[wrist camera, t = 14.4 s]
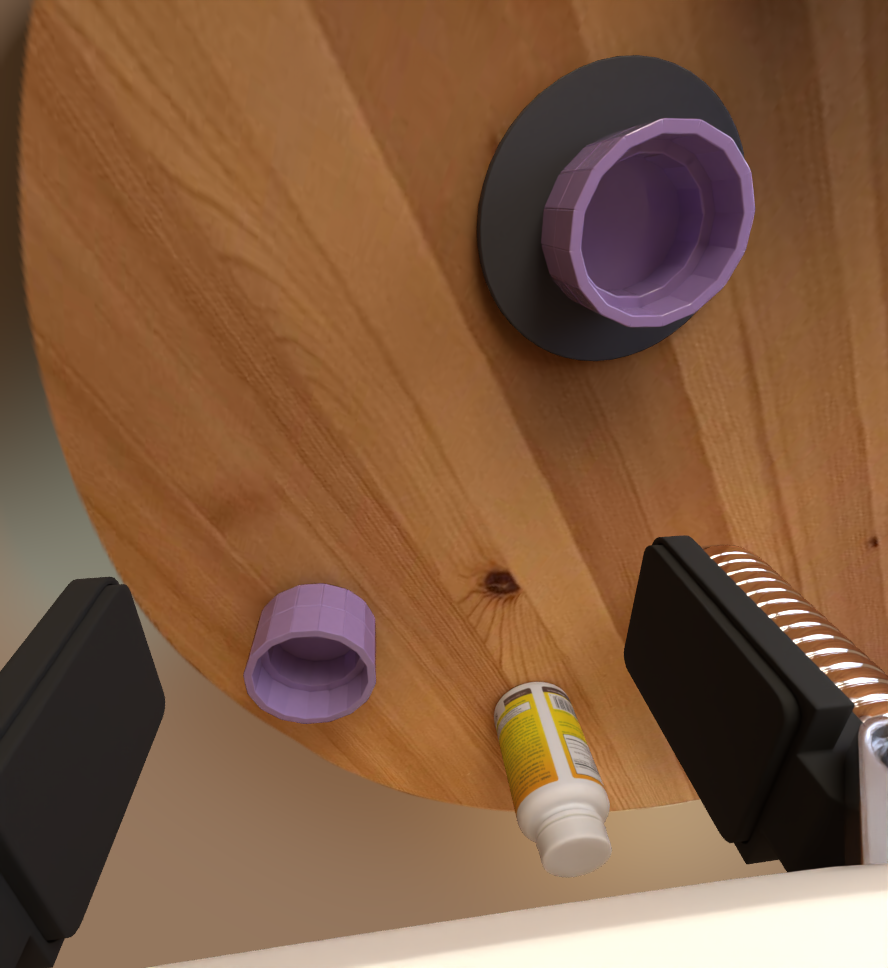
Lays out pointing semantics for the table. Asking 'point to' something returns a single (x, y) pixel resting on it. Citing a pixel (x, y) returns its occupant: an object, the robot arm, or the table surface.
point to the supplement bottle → (553, 779)
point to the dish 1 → (312, 654)
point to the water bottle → (808, 630)
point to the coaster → (531, 177)
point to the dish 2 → (649, 221)
